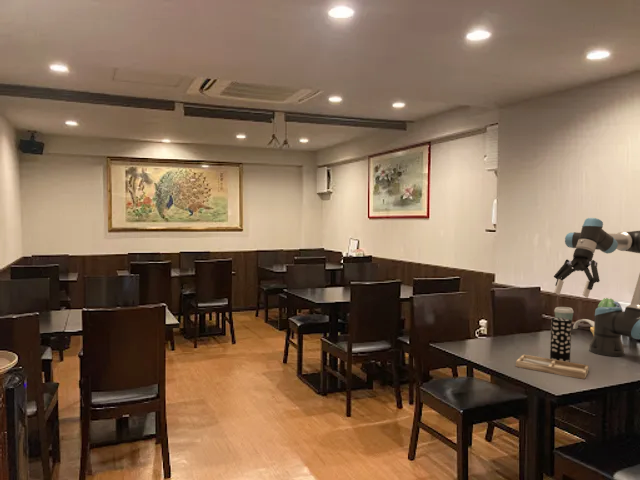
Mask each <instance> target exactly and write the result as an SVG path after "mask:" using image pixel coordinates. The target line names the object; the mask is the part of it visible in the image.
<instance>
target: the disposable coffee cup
mask: <svg viewBox="0 0 640 480" xmlns="http://www.w3.org/2000/svg"><path fill="white" fill-rule="evenodd" d="M553 312H554V318H566V319H570V320H572V321H573V316H574V313H575V312H574V310H573V308H572V307H568V306H557V307H555V308H554V310H553Z"/></svg>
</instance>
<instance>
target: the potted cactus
mask: <svg viewBox="0 0 640 480" xmlns="http://www.w3.org/2000/svg"><path fill="white" fill-rule="evenodd" d="M598 307H620V308H622V305H621V304H620V303H619V302H618V301H615V300H614V299H612V298H609V297H606V298H603V299H601V300H600V302H599V303H598V305H597V308H598ZM622 309H623V308H622ZM589 330H590V332H591V333H592V336H593V337H594V327H592V326H590V329H589Z"/></svg>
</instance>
